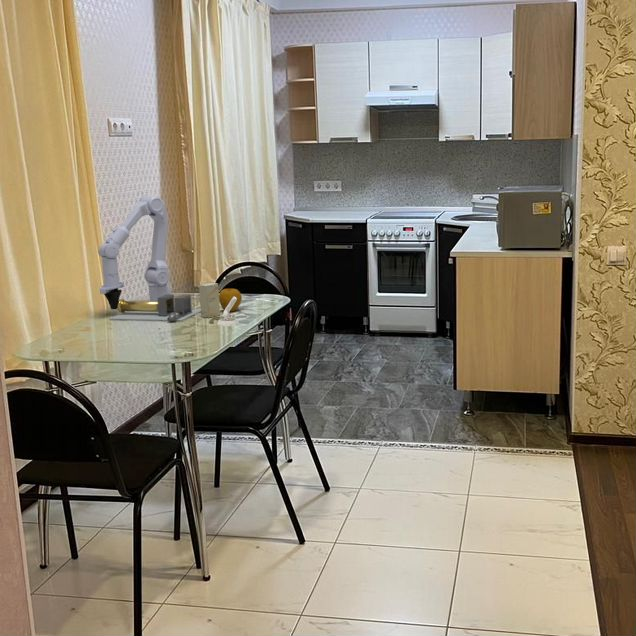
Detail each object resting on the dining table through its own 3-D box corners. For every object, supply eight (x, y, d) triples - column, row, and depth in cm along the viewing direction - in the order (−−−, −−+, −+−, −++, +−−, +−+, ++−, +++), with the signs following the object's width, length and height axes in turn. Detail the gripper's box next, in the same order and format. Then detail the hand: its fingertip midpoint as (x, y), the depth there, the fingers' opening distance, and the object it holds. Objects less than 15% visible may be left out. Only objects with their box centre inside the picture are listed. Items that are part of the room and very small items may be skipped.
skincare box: (209, 318, 305) (206, 285, 303) (200, 317, 308) (198, 285, 305) (221, 315, 310) (218, 283, 307) (212, 314, 313) (210, 282, 310)
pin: (125, 311, 321) (123, 298, 320) (170, 311, 315) (169, 298, 314) (118, 314, 316) (116, 300, 315) (163, 314, 310) (162, 301, 309)
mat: (133, 310, 327) (132, 308, 327) (202, 311, 318) (202, 309, 318) (109, 320, 310) (109, 318, 310) (182, 321, 302) (181, 319, 301)
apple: (245, 308, 320) (243, 286, 318) (237, 313, 312) (236, 290, 310) (224, 308, 322) (222, 286, 320) (216, 313, 314) (214, 290, 312)
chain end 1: (176, 308, 324) (175, 290, 322) (183, 308, 323) (182, 290, 321) (158, 316, 310) (157, 298, 308) (166, 316, 309) (164, 298, 307)
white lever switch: (250, 310, 289) (233, 301, 287) (232, 337, 292) (215, 328, 290) (249, 302, 296) (233, 293, 294) (232, 328, 299) (215, 319, 297)
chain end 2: (184, 312, 315) (183, 294, 313) (191, 312, 314) (190, 294, 312) (166, 320, 301) (165, 302, 299) (174, 321, 300) (172, 302, 299)
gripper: (111, 271, 324) (114, 305, 327) (91, 277, 311) (95, 312, 313) (127, 271, 322) (130, 305, 325) (107, 277, 308) (111, 312, 311)
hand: (114, 309), depth 319 cm, fingers closed
